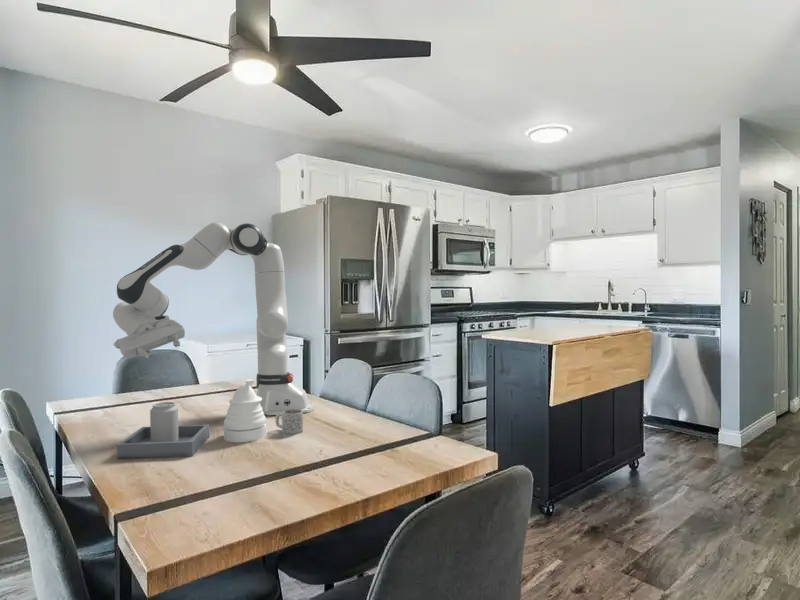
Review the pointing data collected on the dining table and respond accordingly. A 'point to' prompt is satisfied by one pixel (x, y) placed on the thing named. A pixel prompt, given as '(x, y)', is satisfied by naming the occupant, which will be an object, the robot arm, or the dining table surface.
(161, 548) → the dining table surface
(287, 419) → the mug
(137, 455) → the tray
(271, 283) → the robot arm
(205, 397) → the dining table surface
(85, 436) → the dining table surface
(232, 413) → the honey pot
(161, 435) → the can
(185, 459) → the dining table surface
